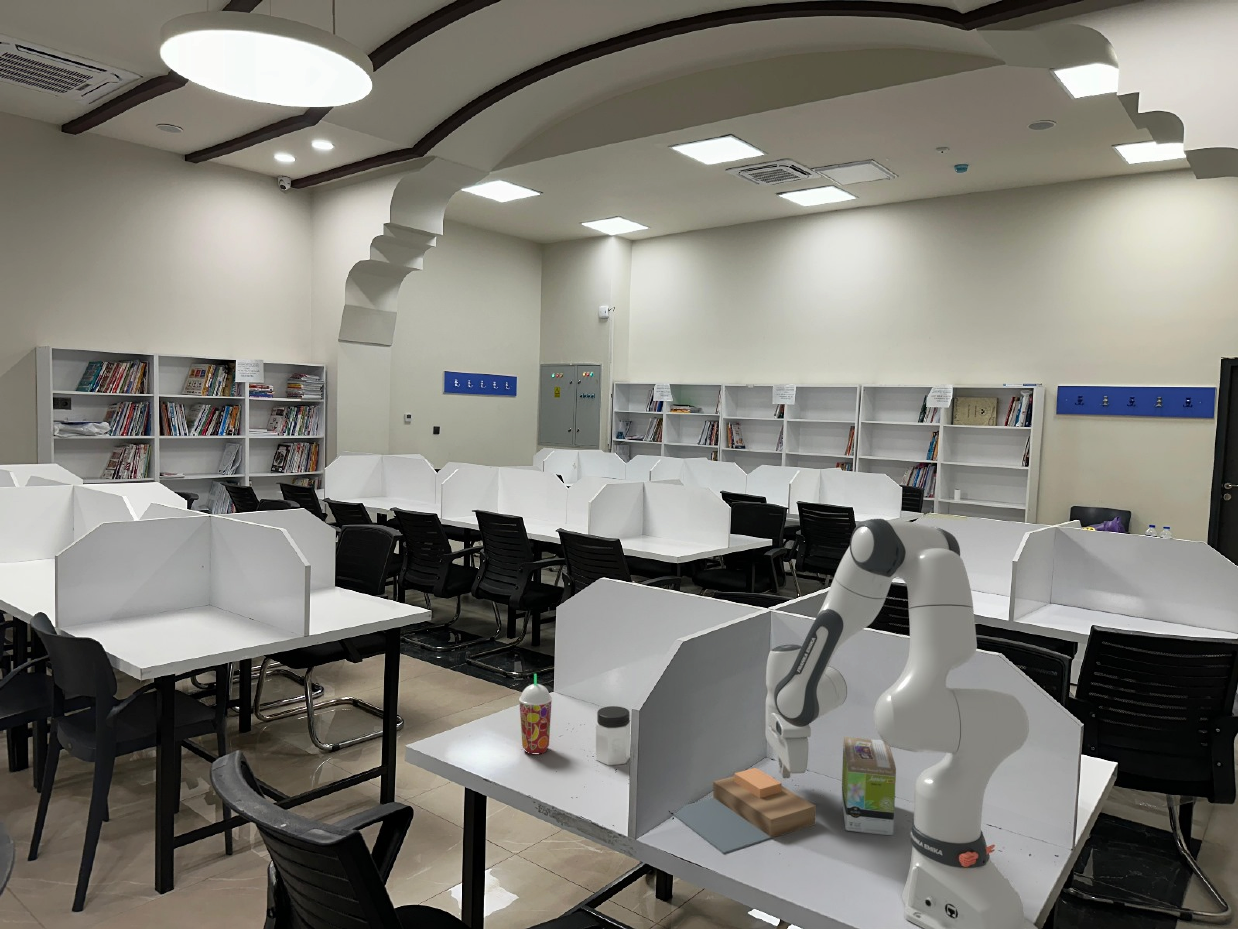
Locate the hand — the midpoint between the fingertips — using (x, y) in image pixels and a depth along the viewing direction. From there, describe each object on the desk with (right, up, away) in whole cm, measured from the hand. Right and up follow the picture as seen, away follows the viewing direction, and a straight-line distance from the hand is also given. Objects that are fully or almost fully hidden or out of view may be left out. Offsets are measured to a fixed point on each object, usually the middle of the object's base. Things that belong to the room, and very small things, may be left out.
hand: (784, 775), depth 190 cm
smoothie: (-59, -3, +26) cm, 64 cm away
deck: (-6, -5, -6) cm, 10 cm away
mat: (-16, -6, -12) cm, 21 cm away
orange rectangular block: (-7, -1, -4) cm, 8 cm away
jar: (-39, -4, +21) cm, 44 cm away
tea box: (+16, -6, -9) cm, 19 cm away
